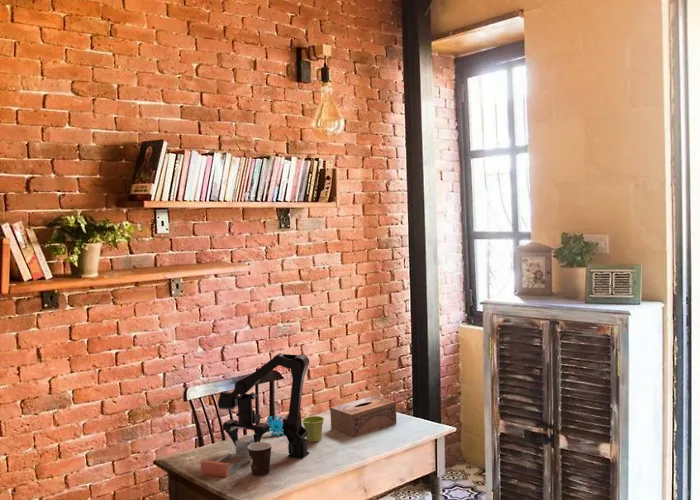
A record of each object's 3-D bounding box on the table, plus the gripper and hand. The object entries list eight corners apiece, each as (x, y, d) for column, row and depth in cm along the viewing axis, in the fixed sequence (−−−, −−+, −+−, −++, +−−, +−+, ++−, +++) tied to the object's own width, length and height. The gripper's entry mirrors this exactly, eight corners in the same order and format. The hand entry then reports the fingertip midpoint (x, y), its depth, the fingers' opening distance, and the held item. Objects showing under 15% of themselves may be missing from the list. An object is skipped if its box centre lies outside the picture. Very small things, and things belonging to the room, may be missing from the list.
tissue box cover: (374, 416, 304) (374, 395, 303) (396, 423, 293) (395, 401, 292) (331, 430, 287) (330, 407, 287) (352, 438, 276) (351, 414, 276)
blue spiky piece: (267, 435, 278) (264, 414, 284) (264, 442, 282) (261, 421, 288) (292, 434, 282) (289, 414, 288) (288, 441, 286) (285, 420, 292)
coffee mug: (249, 469, 246) (248, 442, 245) (272, 467, 246) (271, 441, 246) (247, 481, 234) (246, 454, 233) (271, 479, 235) (270, 452, 234)
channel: (251, 459, 255) (251, 448, 255) (226, 476, 239) (225, 464, 238) (227, 456, 259) (227, 445, 259) (201, 473, 243) (200, 461, 243)
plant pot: (298, 442, 272) (297, 421, 272) (308, 435, 281) (307, 415, 281) (319, 444, 269) (318, 423, 268) (328, 437, 278) (327, 416, 277)
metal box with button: (258, 450, 265) (257, 436, 264) (248, 457, 258) (247, 442, 257) (246, 449, 267) (245, 434, 267) (236, 455, 260) (235, 440, 260)
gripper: (275, 405, 265) (277, 443, 266) (236, 401, 272) (237, 438, 273) (261, 413, 255) (263, 453, 256) (220, 409, 262) (222, 448, 263)
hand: (246, 447), depth 262 cm, fingers open, 9 cm apart
